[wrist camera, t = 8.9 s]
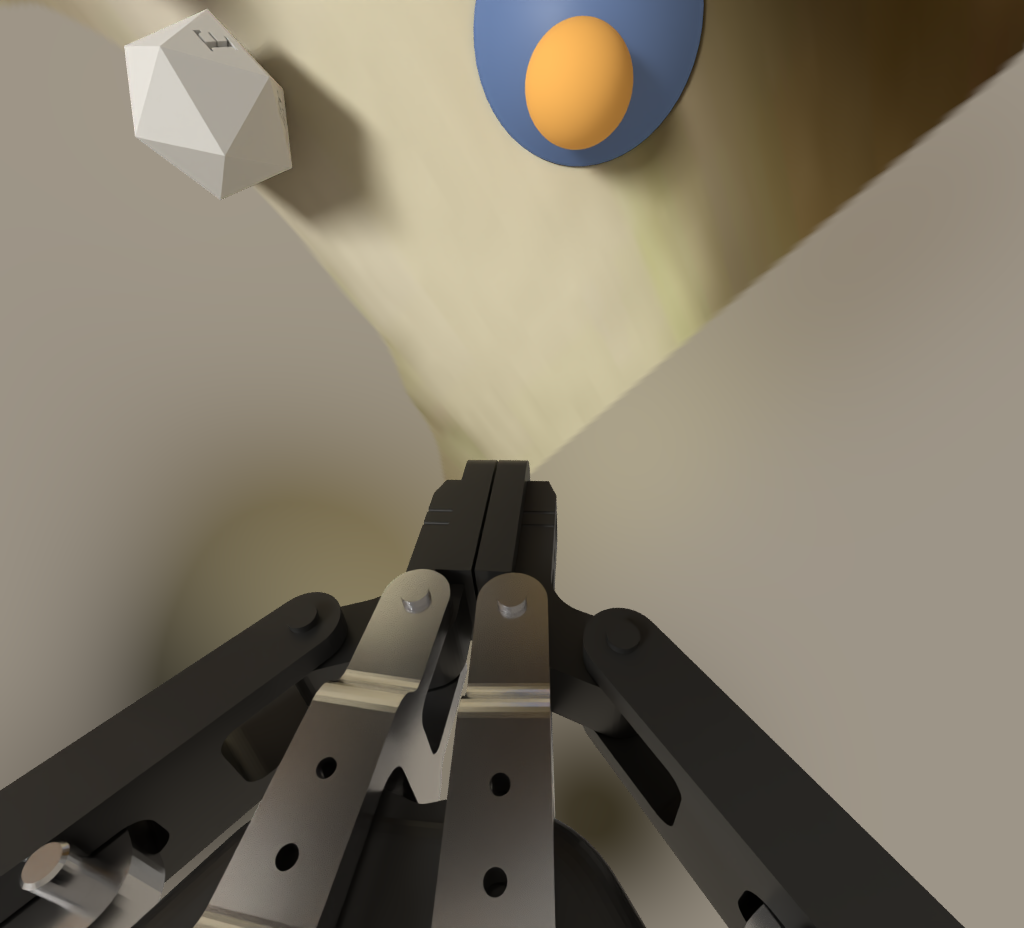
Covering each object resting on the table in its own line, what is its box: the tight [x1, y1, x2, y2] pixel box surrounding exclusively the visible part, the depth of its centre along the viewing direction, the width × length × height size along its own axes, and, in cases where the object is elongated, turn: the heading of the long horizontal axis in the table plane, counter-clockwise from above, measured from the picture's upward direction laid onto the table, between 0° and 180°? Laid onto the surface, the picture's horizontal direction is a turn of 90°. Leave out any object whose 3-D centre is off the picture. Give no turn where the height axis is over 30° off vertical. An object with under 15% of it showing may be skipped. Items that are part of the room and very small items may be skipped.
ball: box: [525, 16, 633, 150], centre depth 28 cm, size 6×6×6 cm
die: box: [124, 9, 292, 200], centre depth 31 cm, size 8×9×10 cm
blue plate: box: [474, 0, 704, 166], centre depth 29 cm, size 13×13×1 cm
